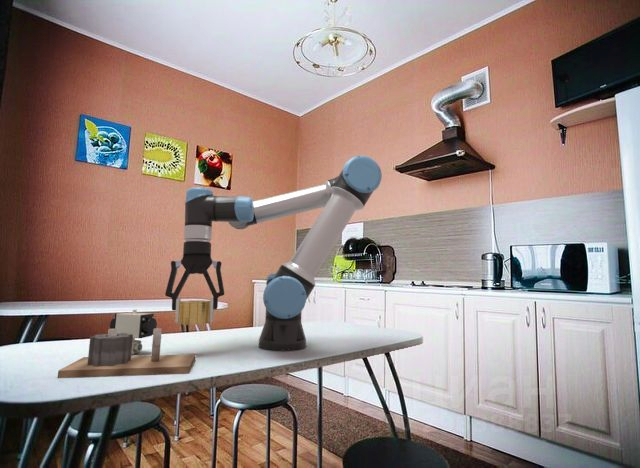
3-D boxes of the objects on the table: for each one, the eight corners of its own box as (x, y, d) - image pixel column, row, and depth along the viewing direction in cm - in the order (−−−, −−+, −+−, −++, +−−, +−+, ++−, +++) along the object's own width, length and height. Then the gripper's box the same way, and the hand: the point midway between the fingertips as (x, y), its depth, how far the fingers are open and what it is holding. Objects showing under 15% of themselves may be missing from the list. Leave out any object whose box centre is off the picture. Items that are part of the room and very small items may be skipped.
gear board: (195, 360, 93) (197, 325, 94) (189, 373, 80) (191, 332, 81) (83, 363, 87) (87, 325, 88) (57, 378, 74) (62, 333, 75)
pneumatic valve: (143, 356, 96) (147, 311, 97) (106, 353, 98) (110, 309, 100) (156, 352, 101) (160, 309, 103) (121, 350, 103) (125, 308, 105)
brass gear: (211, 320, 105) (211, 300, 105) (209, 324, 96) (209, 301, 97) (180, 321, 103) (181, 300, 103) (176, 325, 95) (177, 302, 95)
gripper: (235, 243, 108) (233, 319, 106) (160, 242, 104) (156, 321, 101) (235, 240, 101) (233, 322, 98) (155, 239, 96) (150, 324, 94)
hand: (194, 321), depth 100 cm, fingers closed on brass gear, 8 cm apart
